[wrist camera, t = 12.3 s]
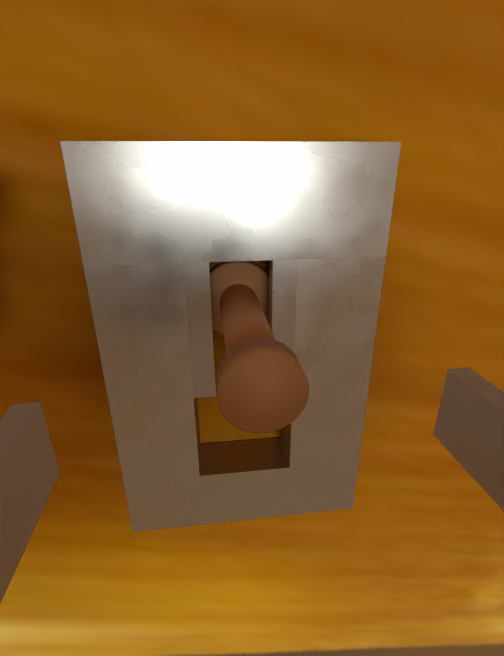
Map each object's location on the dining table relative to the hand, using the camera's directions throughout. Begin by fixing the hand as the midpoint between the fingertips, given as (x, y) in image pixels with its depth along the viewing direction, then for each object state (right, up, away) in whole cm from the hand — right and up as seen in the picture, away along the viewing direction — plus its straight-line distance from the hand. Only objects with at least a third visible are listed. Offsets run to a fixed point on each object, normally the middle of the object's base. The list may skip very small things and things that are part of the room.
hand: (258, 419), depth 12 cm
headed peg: (-1, +5, +13) cm, 14 cm away
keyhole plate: (-1, +2, +14) cm, 14 cm away
